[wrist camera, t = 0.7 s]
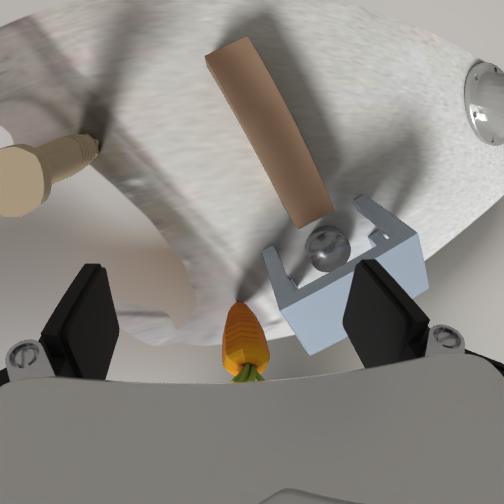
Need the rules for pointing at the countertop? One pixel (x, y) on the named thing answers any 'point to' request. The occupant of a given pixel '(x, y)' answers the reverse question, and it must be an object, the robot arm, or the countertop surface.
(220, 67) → the brown block
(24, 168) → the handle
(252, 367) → the carrot
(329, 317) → the low shelf
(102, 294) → the robot arm
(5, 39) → the countertop surface
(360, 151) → the countertop surface
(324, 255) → the grey metal short cylinder
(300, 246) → the countertop surface
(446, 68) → the countertop surface
